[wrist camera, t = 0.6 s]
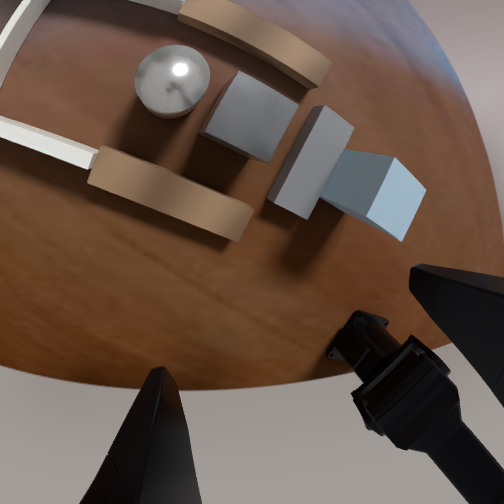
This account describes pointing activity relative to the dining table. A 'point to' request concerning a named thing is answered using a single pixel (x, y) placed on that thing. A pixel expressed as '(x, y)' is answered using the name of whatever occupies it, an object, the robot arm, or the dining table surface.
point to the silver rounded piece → (172, 80)
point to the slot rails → (182, 188)
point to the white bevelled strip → (3, 53)
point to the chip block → (248, 118)
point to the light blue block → (345, 178)
